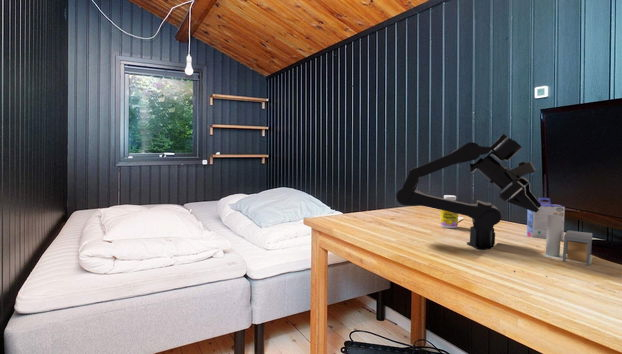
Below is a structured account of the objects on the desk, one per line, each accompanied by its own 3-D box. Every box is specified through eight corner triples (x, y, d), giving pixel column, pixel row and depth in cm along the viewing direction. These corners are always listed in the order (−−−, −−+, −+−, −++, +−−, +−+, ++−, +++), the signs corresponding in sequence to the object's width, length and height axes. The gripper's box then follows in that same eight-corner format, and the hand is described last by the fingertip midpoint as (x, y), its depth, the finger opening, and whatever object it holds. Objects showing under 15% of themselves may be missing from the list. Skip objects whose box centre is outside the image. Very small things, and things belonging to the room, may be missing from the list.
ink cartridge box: (555, 238, 116) (558, 197, 115) (564, 242, 110) (567, 199, 109) (525, 236, 118) (527, 197, 117) (532, 240, 112) (534, 199, 111)
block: (566, 259, 88) (568, 241, 88) (568, 256, 91) (569, 238, 91) (586, 262, 85) (587, 244, 85) (587, 259, 88) (588, 241, 88)
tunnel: (562, 265, 87) (564, 236, 86) (566, 257, 94) (567, 230, 93) (588, 270, 83) (590, 239, 83) (590, 261, 90) (592, 233, 89)
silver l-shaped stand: (542, 259, 91) (545, 216, 90) (546, 254, 95) (548, 213, 95) (590, 268, 84) (593, 221, 83) (591, 262, 88) (594, 218, 88)
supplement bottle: (440, 227, 131) (441, 196, 130) (440, 224, 137) (441, 194, 136) (458, 229, 129) (459, 197, 128) (457, 226, 135) (458, 195, 134)
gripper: (511, 153, 90) (562, 193, 84) (520, 152, 105) (564, 186, 98) (481, 181, 95) (526, 221, 89) (493, 177, 110) (533, 211, 103)
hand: (539, 208), depth 95 cm, fingers open, 9 cm apart
